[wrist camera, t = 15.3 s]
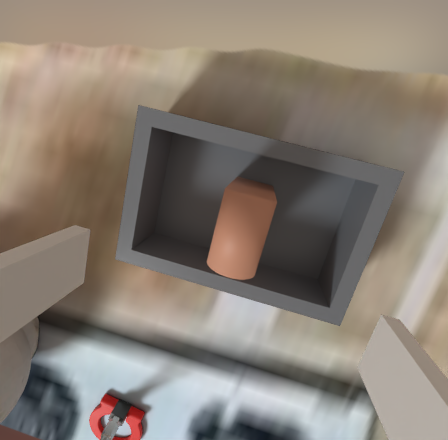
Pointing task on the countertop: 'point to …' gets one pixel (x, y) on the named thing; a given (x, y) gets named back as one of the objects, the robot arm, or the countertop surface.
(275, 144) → the open box
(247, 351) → the countertop surface
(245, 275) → the wooden peg
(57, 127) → the countertop surface
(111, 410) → the tow hook
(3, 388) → the ceramic pitcher
